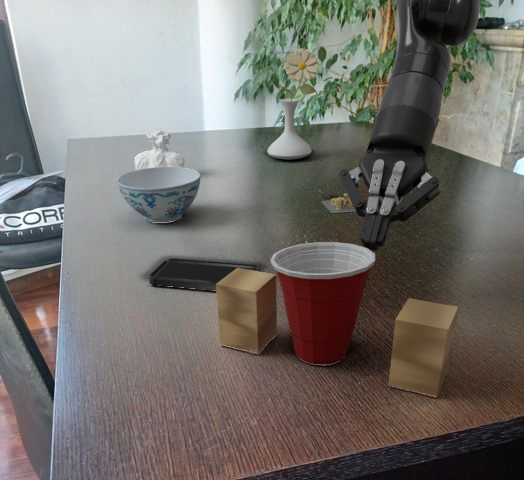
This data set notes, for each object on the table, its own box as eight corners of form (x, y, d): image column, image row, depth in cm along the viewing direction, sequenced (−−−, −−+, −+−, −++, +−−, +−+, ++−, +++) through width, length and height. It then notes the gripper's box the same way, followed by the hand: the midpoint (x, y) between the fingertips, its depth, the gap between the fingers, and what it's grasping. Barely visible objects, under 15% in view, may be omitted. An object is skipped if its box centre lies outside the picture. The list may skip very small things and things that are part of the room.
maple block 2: (447, 373, 60) (458, 306, 56) (437, 399, 57) (448, 329, 53) (400, 363, 62) (408, 297, 58) (387, 387, 59) (395, 318, 55)
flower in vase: (261, 161, 144) (258, 50, 131) (274, 151, 153) (273, 46, 140) (311, 164, 140) (314, 50, 127) (322, 154, 149) (325, 46, 136)
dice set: (354, 200, 114) (354, 190, 113) (361, 208, 109) (362, 198, 108) (329, 202, 113) (329, 192, 112) (336, 210, 109) (336, 200, 108)
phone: (167, 257, 87) (261, 265, 84) (168, 264, 88) (262, 272, 84) (145, 278, 81) (246, 287, 77) (146, 285, 81) (247, 295, 78)
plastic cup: (336, 322, 71) (341, 229, 65) (387, 364, 62) (397, 261, 56) (257, 341, 67) (253, 245, 61) (299, 389, 59) (300, 283, 53)
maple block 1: (277, 335, 68) (276, 274, 64) (258, 355, 65) (256, 291, 60) (240, 327, 70) (237, 267, 66) (220, 346, 67) (215, 284, 62)
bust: (187, 186, 134) (191, 141, 135) (179, 173, 126) (183, 124, 128) (139, 186, 135) (143, 140, 137) (127, 172, 128) (132, 125, 129)
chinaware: (132, 237, 99) (125, 192, 95) (117, 212, 111) (110, 172, 107) (214, 224, 104) (210, 181, 100) (191, 202, 116) (187, 163, 112)
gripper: (349, 100, 71) (311, 226, 68) (459, 104, 66) (422, 240, 63) (360, 137, 78) (326, 253, 75) (460, 143, 72) (428, 267, 69)
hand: (370, 247), depth 69 cm, fingers closed
